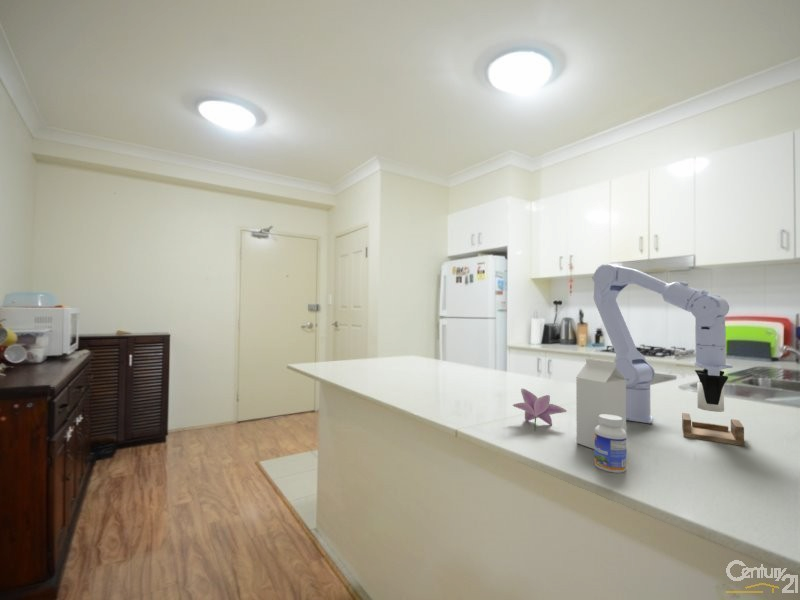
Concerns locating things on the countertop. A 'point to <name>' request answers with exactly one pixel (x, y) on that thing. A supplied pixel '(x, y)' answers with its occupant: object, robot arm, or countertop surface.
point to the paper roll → (702, 402)
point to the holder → (713, 431)
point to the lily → (538, 407)
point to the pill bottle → (610, 444)
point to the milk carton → (598, 397)
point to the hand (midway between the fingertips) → (711, 401)
